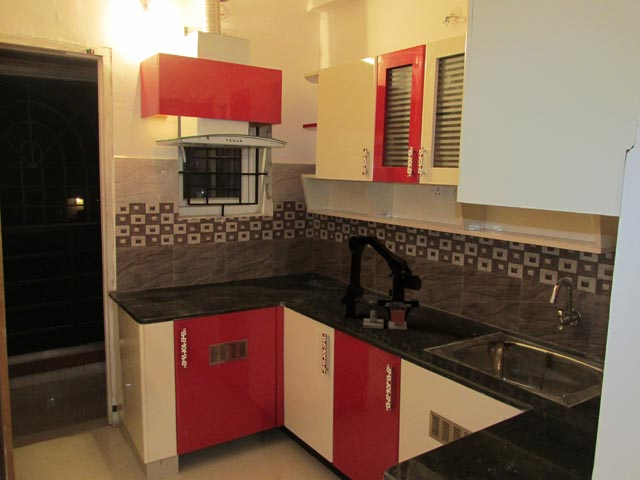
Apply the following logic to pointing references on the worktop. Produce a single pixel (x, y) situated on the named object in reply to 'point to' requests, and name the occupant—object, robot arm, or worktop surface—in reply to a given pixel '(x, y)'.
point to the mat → (397, 325)
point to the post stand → (373, 321)
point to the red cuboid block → (398, 316)
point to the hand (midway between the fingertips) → (397, 320)
